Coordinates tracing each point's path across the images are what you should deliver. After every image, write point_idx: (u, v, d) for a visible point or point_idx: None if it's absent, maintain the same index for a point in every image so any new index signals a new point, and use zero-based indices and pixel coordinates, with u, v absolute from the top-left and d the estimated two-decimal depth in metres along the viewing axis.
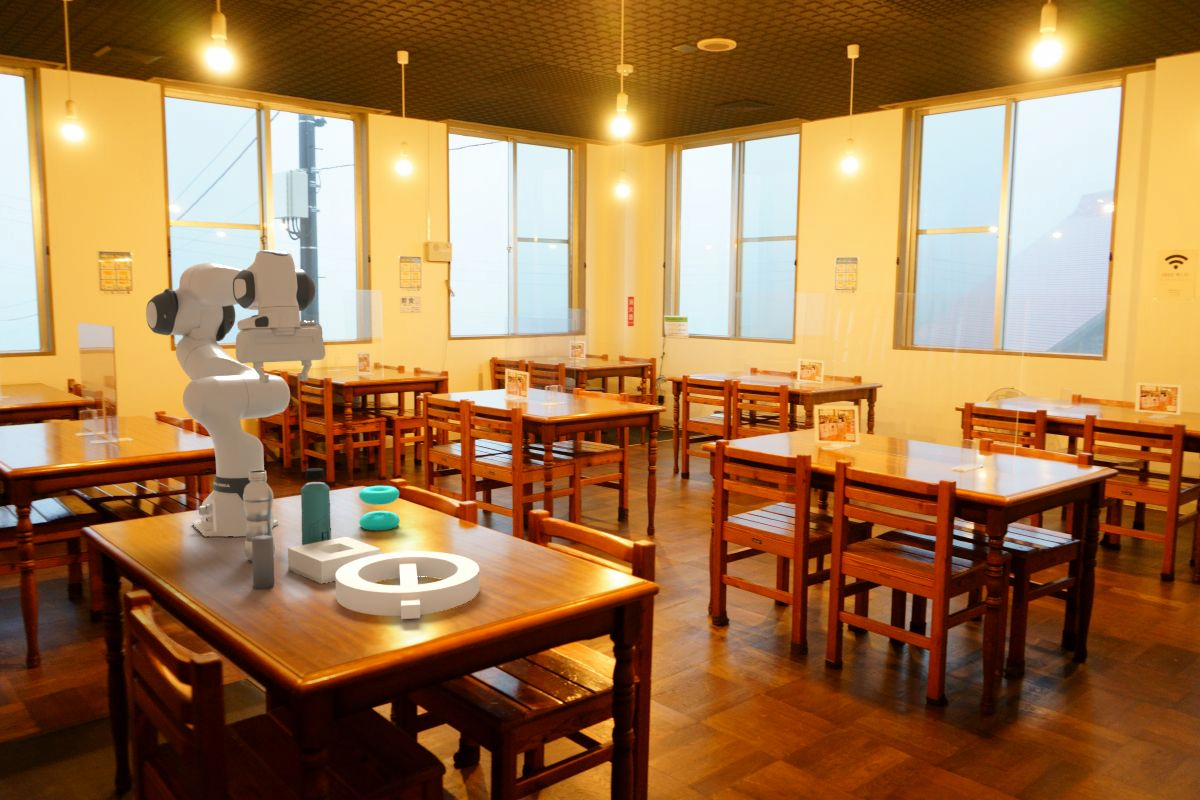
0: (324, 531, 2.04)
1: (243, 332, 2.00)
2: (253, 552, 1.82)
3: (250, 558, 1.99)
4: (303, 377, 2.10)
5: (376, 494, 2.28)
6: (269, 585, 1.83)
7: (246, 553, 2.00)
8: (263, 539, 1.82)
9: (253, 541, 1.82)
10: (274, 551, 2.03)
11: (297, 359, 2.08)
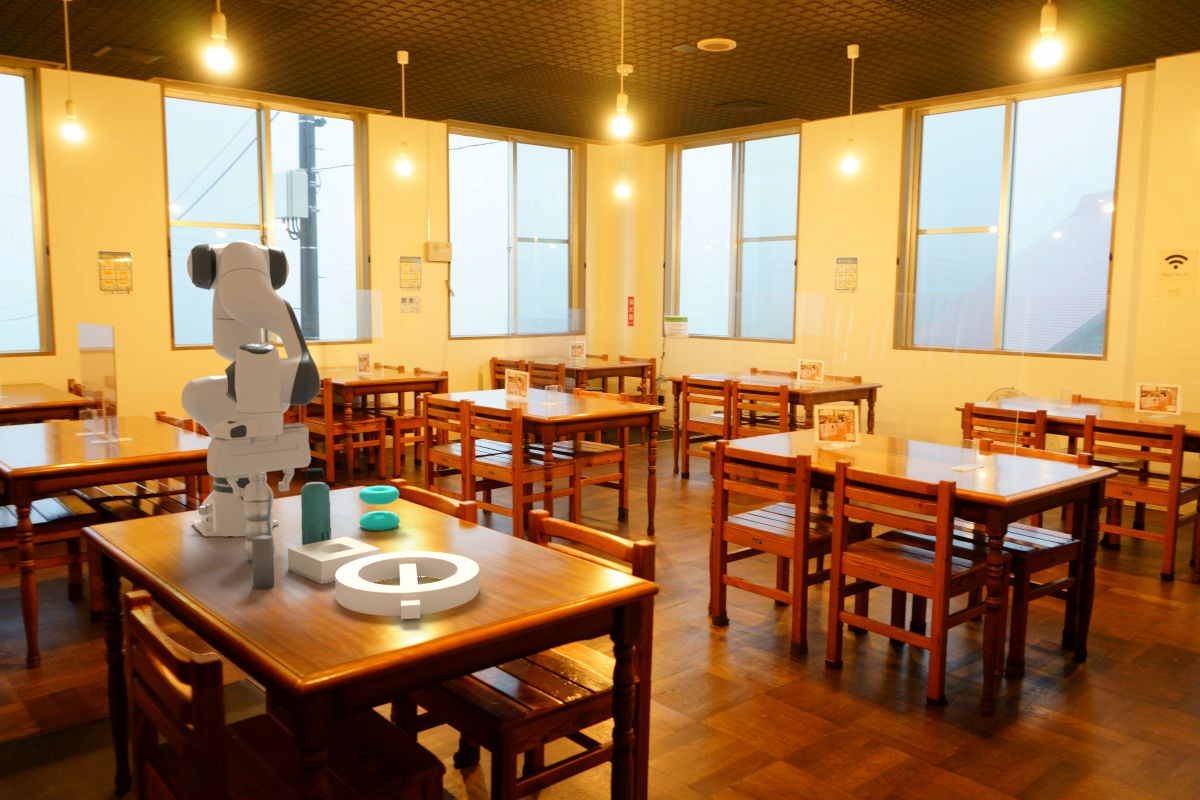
0: (324, 531, 2.04)
1: (216, 442, 1.74)
2: (253, 552, 1.82)
3: (250, 558, 1.99)
4: (284, 488, 1.85)
5: (376, 494, 2.28)
6: (269, 585, 1.83)
7: (246, 553, 2.00)
8: (263, 539, 1.82)
9: (253, 541, 1.82)
10: (274, 551, 2.03)
11: (278, 469, 1.82)
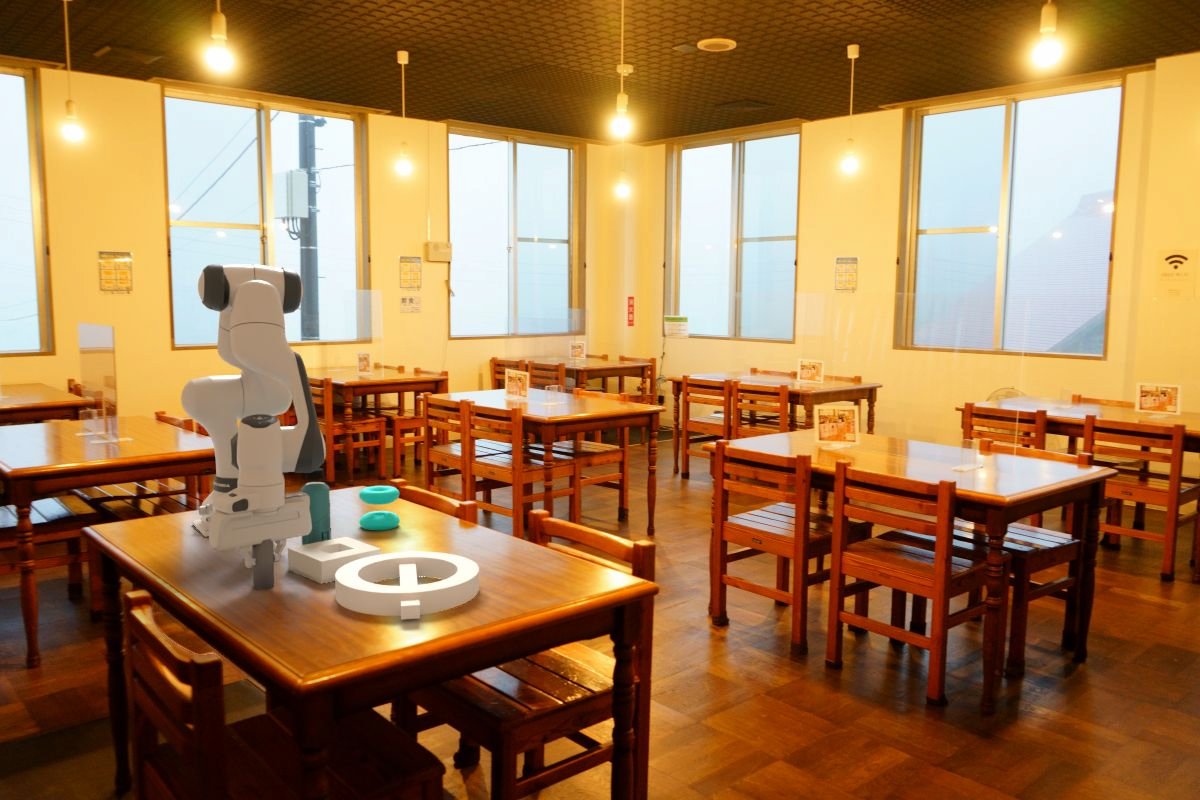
0: (324, 531, 2.04)
1: (218, 516, 1.76)
2: (253, 552, 1.82)
3: None
4: (276, 559, 1.85)
5: (376, 494, 2.28)
6: (269, 585, 1.83)
7: None
8: None
9: None
10: None
11: (279, 539, 1.84)
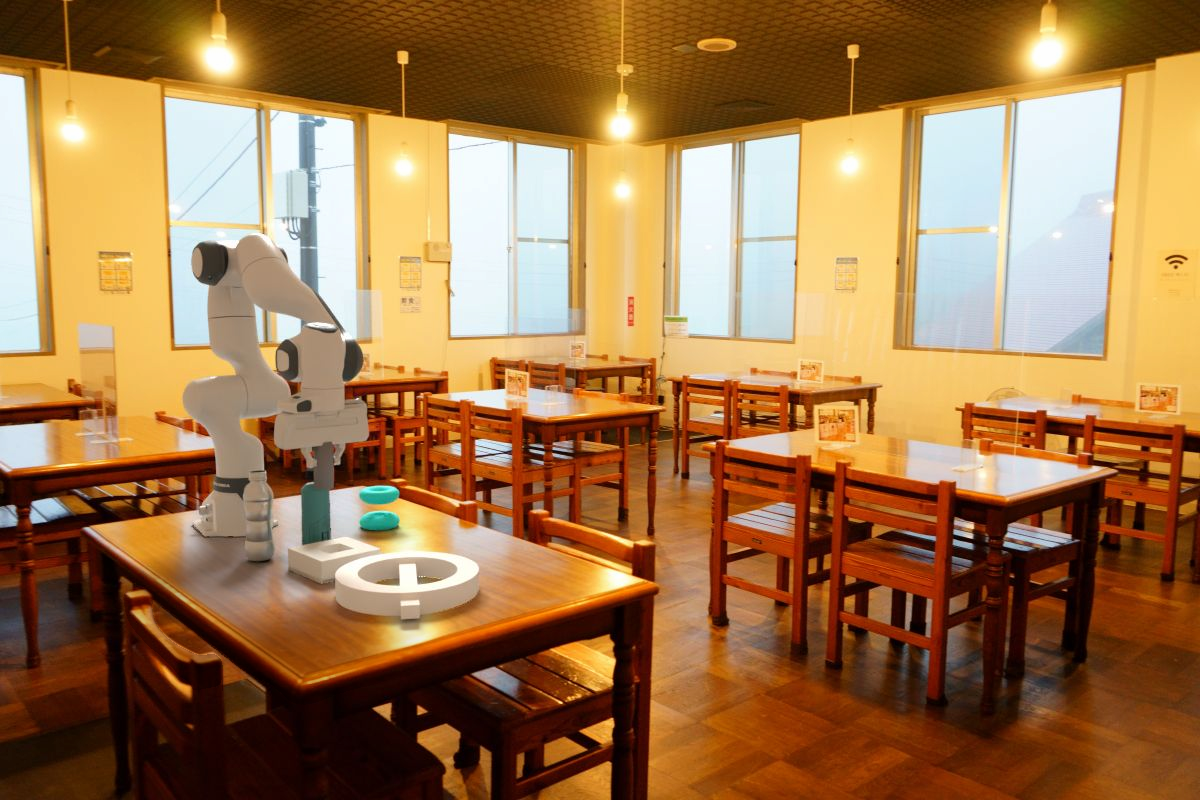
0: (324, 531, 2.04)
1: (283, 416, 1.84)
2: (314, 454, 1.90)
3: (250, 558, 1.99)
4: (335, 462, 1.93)
5: (376, 494, 2.28)
6: (329, 486, 1.91)
7: (246, 553, 2.00)
8: None
9: None
10: (274, 551, 2.03)
11: (339, 442, 1.92)
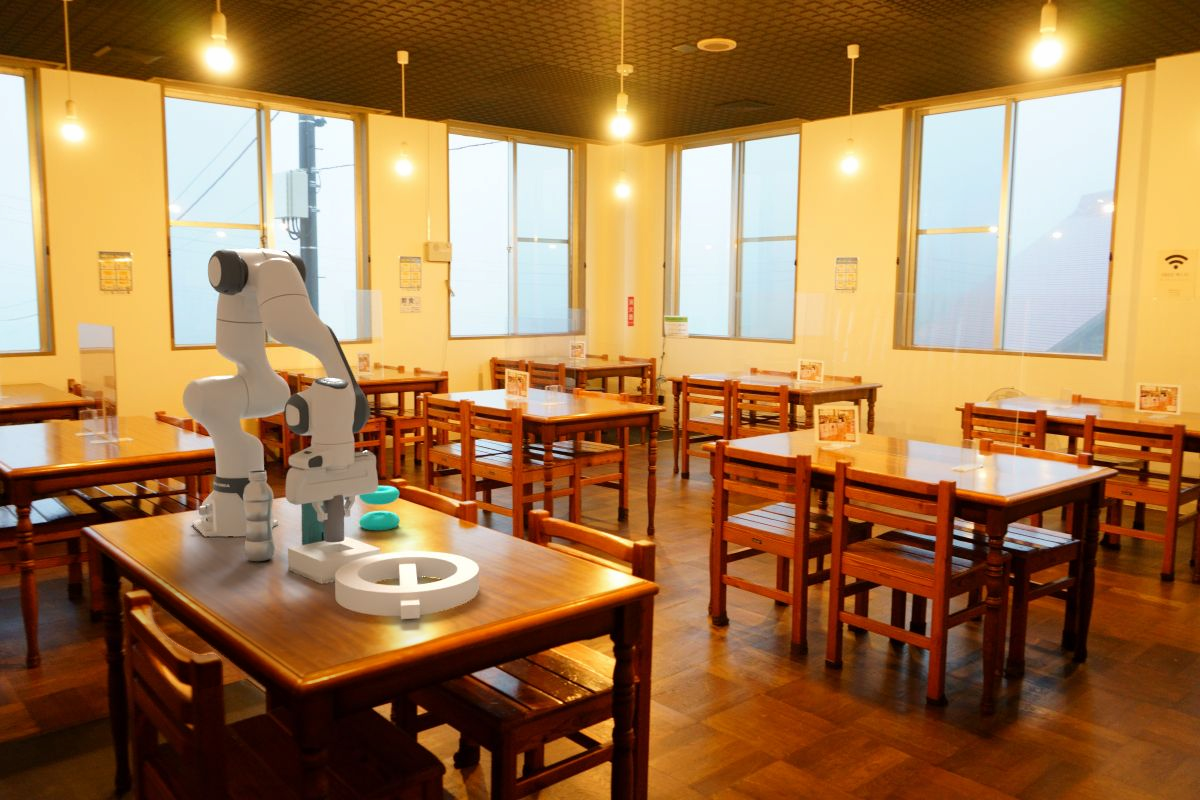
0: (324, 531, 2.04)
1: (295, 472, 1.87)
2: (325, 507, 1.93)
3: (250, 558, 1.99)
4: (345, 514, 1.96)
5: (376, 494, 2.28)
6: (340, 539, 1.94)
7: (246, 553, 2.00)
8: None
9: None
10: (274, 551, 2.03)
11: (349, 495, 1.95)
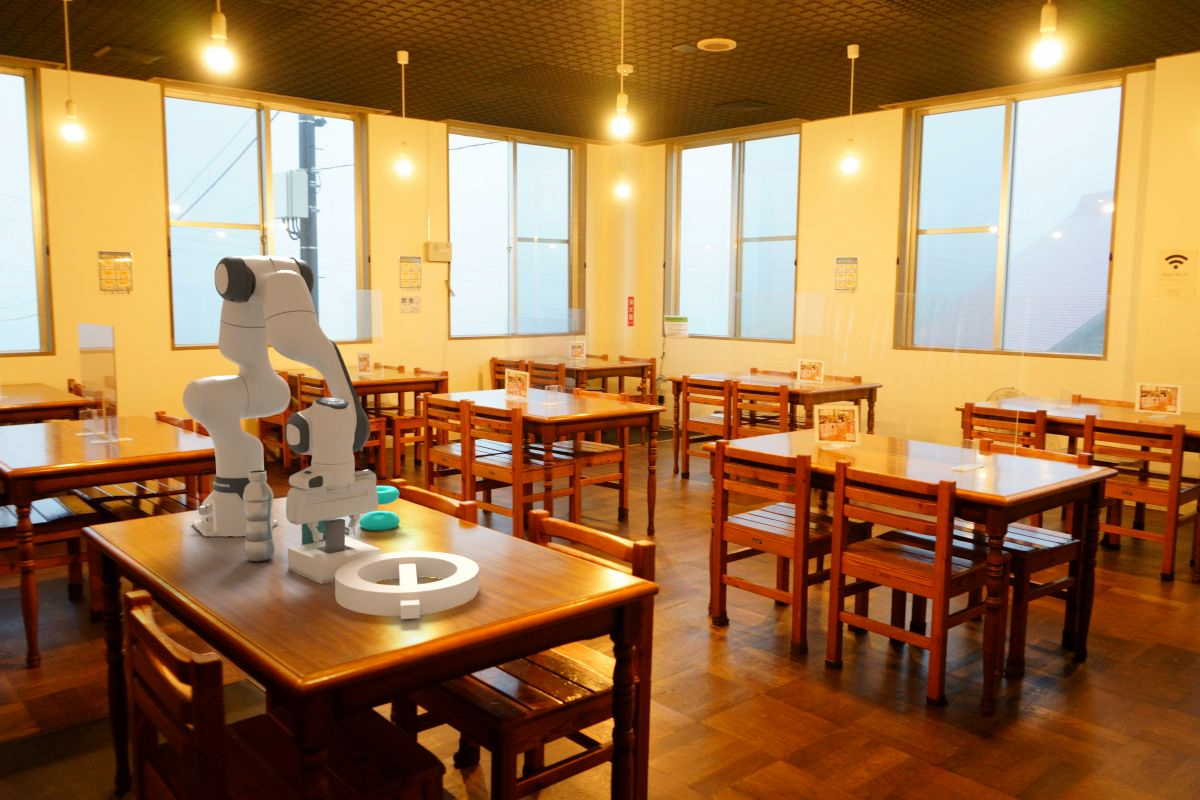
0: (324, 531, 2.04)
1: (295, 492, 1.87)
2: (326, 534, 1.93)
3: (250, 558, 1.99)
4: (350, 532, 1.97)
5: None
6: None
7: (246, 553, 2.00)
8: (336, 522, 1.93)
9: (326, 524, 1.93)
10: (274, 551, 2.03)
11: (349, 514, 1.95)
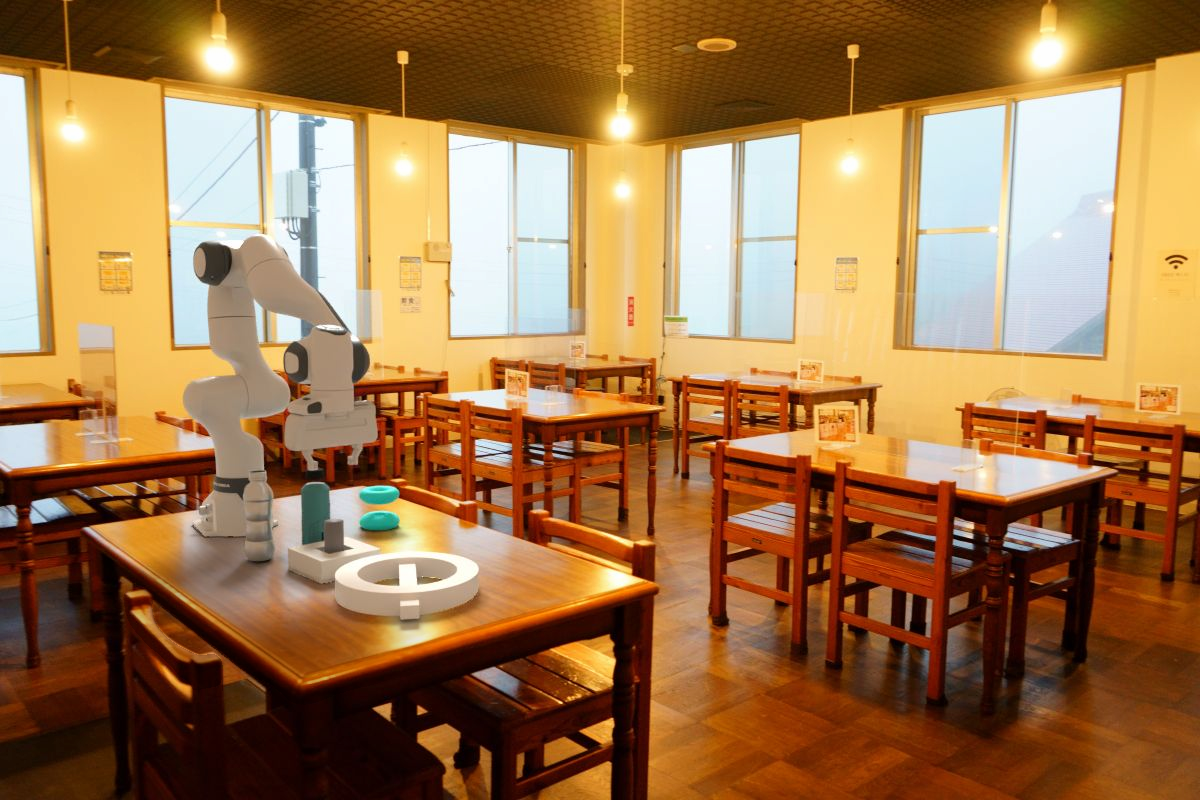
0: None
1: (294, 418, 1.85)
2: (325, 534, 1.94)
3: (250, 558, 1.99)
4: (353, 462, 1.96)
5: (376, 494, 2.28)
6: None
7: (246, 553, 2.00)
8: (335, 522, 1.94)
9: (325, 524, 1.93)
10: (274, 551, 2.03)
11: (348, 444, 1.94)
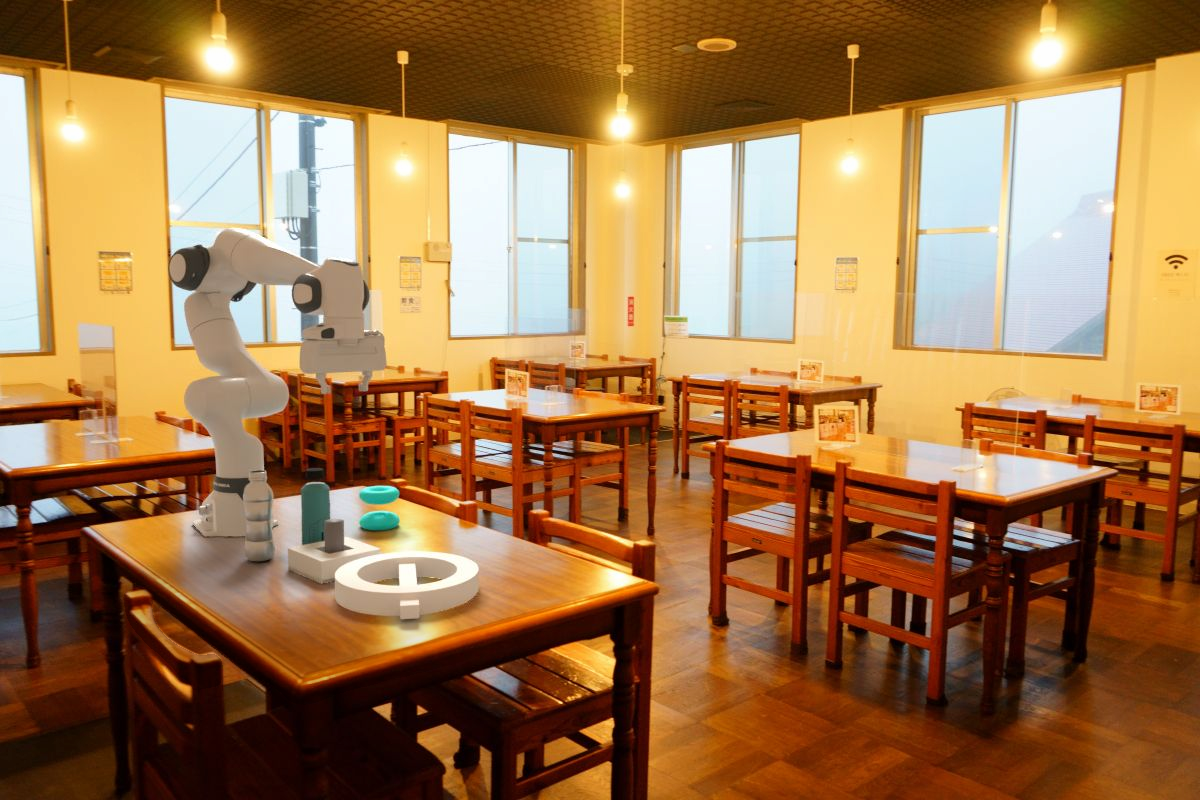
0: (324, 531, 2.04)
1: (308, 342, 1.97)
2: (325, 534, 1.94)
3: (250, 558, 1.99)
4: (363, 388, 2.08)
5: (376, 494, 2.28)
6: None
7: (246, 553, 2.00)
8: (335, 522, 1.94)
9: (325, 524, 1.93)
10: (274, 551, 2.03)
11: (359, 370, 2.06)
